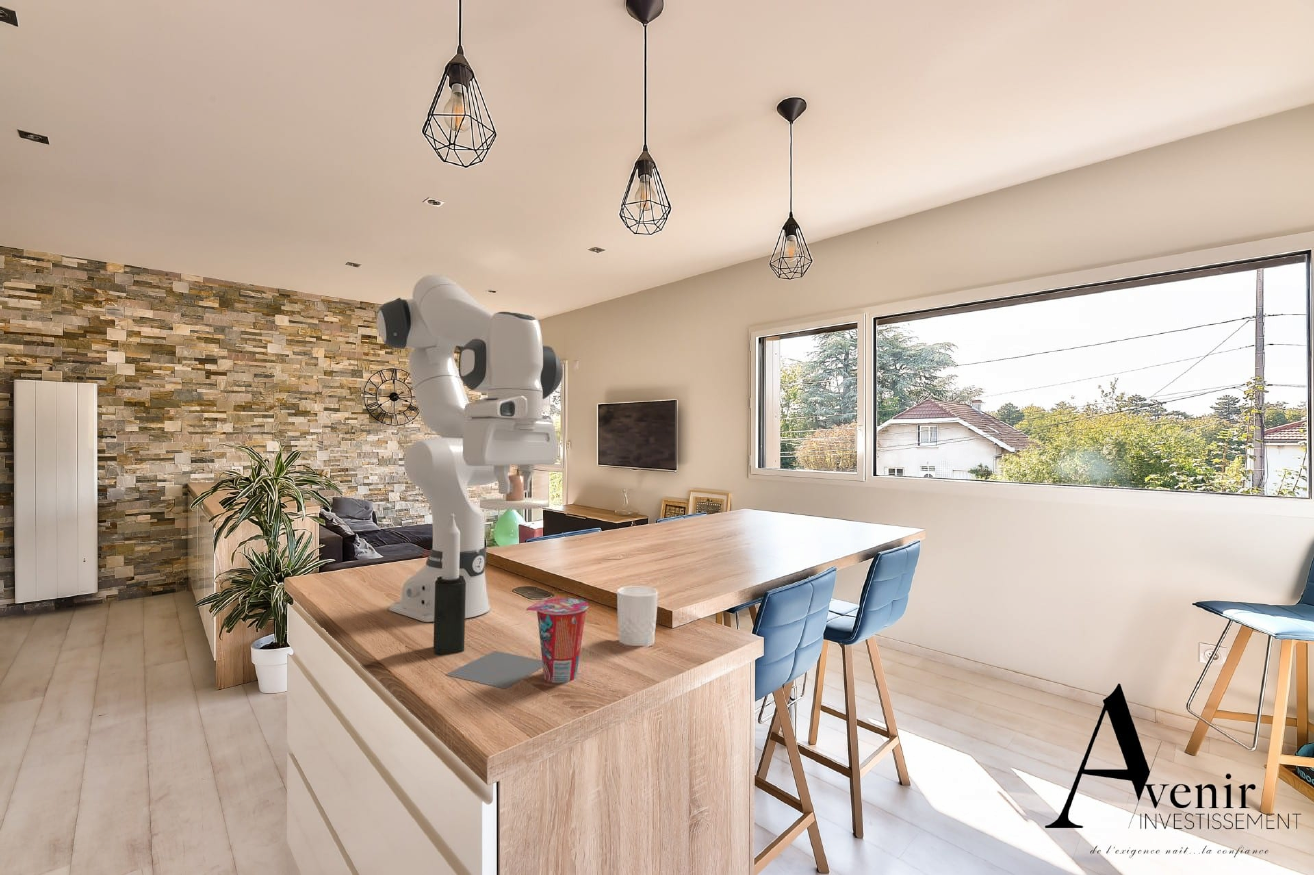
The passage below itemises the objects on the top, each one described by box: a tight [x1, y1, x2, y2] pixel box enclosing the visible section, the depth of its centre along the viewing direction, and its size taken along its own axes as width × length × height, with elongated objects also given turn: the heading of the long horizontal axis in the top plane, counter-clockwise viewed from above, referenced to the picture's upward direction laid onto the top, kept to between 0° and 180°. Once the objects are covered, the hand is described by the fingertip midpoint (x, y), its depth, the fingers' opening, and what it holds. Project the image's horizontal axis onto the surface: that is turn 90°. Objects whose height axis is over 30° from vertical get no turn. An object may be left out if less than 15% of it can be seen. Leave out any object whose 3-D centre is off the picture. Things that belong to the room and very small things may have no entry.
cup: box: [525, 597, 589, 684], centre depth 91 cm, size 9×8×12 cm
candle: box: [432, 514, 466, 656], centre depth 103 cm, size 5×5×25 cm
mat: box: [445, 650, 543, 690], centre depth 94 cm, size 12×12×1 cm
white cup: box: [616, 585, 659, 648], centre depth 109 cm, size 8×8×10 cm
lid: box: [479, 475, 550, 511], centre depth 94 cm, size 11×11×5 cm
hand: (514, 493), depth 94 cm, fingers closed on lid, 3 cm apart
